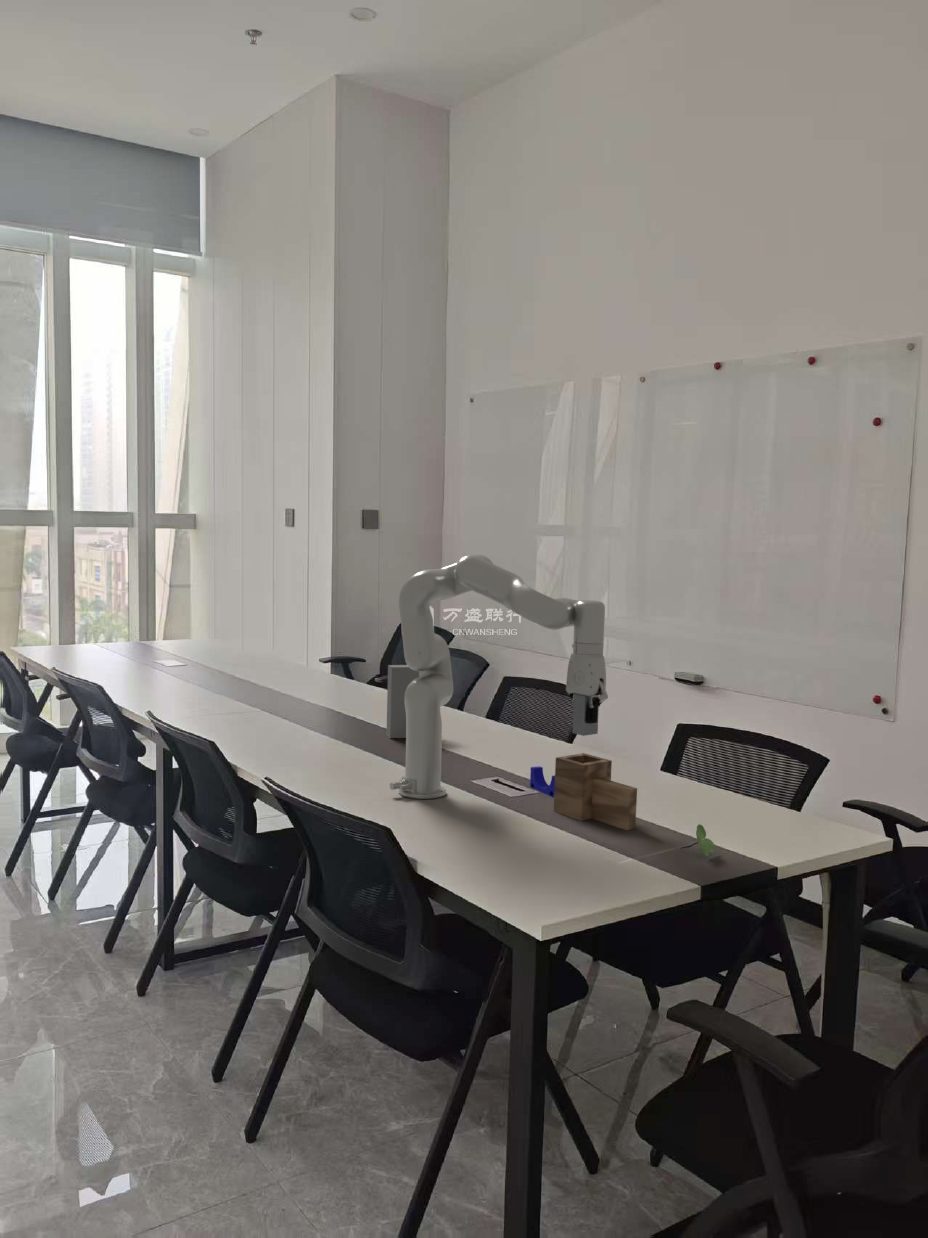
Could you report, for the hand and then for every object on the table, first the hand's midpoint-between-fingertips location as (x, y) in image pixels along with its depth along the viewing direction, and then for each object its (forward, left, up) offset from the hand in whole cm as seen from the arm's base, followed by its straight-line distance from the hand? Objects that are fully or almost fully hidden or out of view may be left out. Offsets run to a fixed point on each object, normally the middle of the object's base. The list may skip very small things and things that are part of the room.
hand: (585, 720), depth 260 cm
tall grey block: (+14, +97, -24) cm, 101 cm away
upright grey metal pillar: (0, 0, -3) cm, 3 cm away
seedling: (-2, -34, -24) cm, 42 cm away
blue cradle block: (+7, +20, -24) cm, 32 cm away
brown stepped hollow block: (0, 0, -24) cm, 24 cm away
